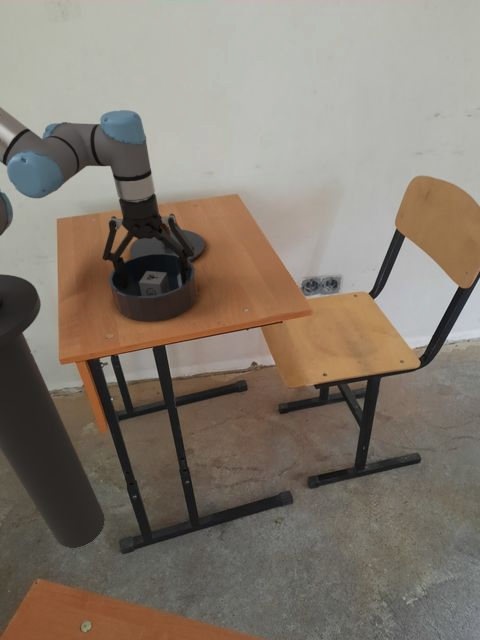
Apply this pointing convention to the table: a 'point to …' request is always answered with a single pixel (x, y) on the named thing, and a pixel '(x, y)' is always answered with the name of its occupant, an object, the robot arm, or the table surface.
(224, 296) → the table surface
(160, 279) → the dice cube
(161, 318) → the pot
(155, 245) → the lid
